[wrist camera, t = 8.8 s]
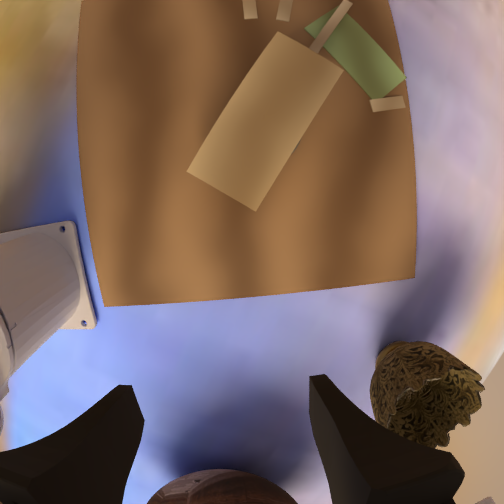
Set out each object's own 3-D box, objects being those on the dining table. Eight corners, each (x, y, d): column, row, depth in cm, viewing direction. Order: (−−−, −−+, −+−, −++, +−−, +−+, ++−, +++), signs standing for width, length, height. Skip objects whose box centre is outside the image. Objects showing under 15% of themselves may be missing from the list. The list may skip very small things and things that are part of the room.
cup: (401, 296, 21) (460, 349, 14) (446, 345, 23) (497, 398, 15) (330, 367, 23) (359, 441, 15) (383, 405, 24) (417, 470, 16)
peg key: (193, 168, 18) (179, 167, 14) (316, -11, 15) (330, -45, 11) (259, 206, 19) (263, 216, 15) (374, 24, 16) (400, -3, 12)
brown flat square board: (110, 300, 21) (103, 307, 20) (88, 7, 16) (81, 0, 15) (407, 272, 21) (416, 278, 20) (375, -19, 16) (381, -27, 14)
